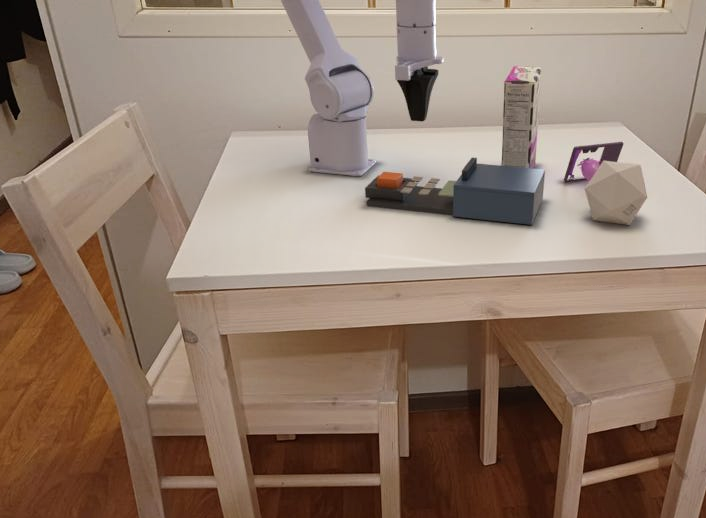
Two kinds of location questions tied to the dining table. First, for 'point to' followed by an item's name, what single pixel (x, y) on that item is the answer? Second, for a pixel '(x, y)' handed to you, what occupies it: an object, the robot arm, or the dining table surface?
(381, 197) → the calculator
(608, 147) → the purple piece
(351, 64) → the robot arm
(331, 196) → the dining table surface
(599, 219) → the die
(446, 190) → the keypad
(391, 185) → the on key
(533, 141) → the candy bar box
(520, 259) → the dining table surface
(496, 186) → the cover
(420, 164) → the dining table surface
